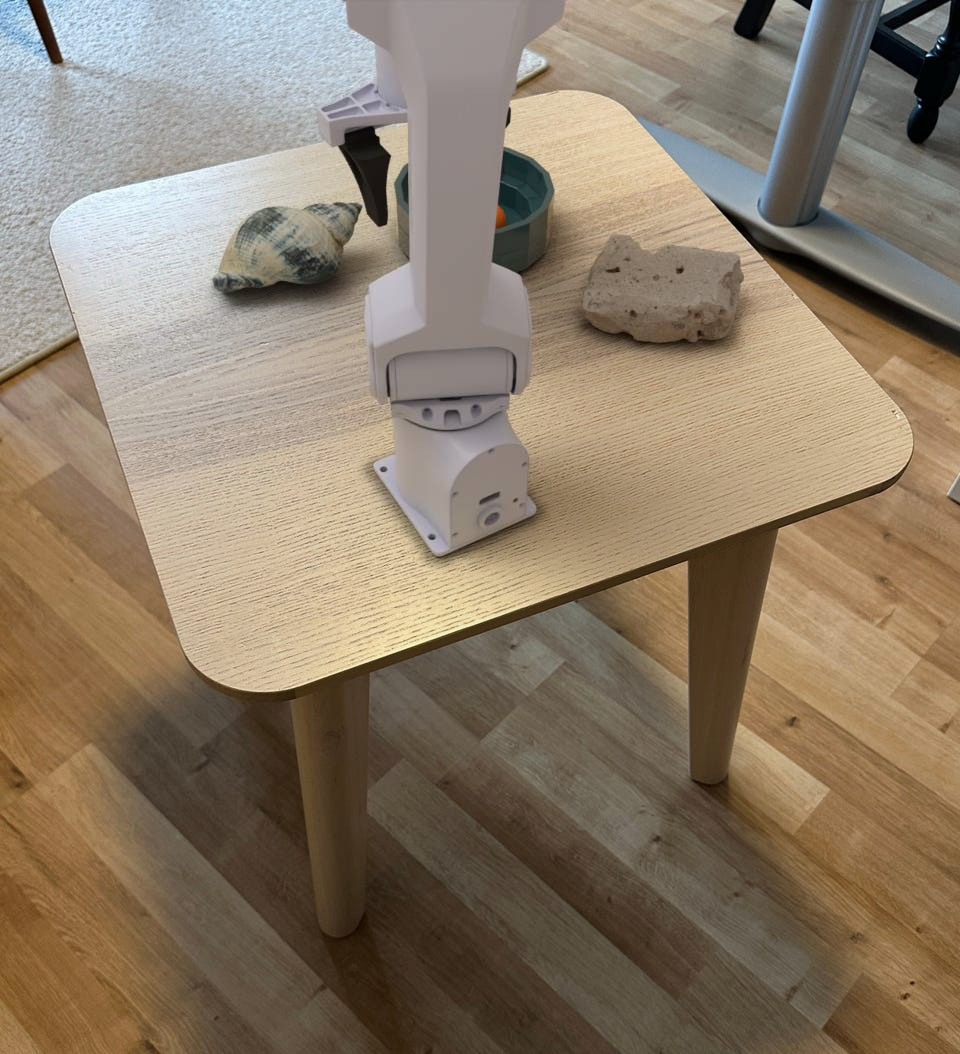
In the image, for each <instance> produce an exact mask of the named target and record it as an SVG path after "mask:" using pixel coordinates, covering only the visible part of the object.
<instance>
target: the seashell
mask: <svg viewBox="0 0 960 1054" xmlns="http://www.w3.org/2000/svg"><path fill="white" fill-rule="evenodd" d="M362 209H363V205H362V204H361V203H360V202H357V201H356V202H348V203H346V202H341V201H335V202H333V203H321V202H318V203H314V204H313V203H312V204H309V205H307V206H305V207H303V208H302V209H300V208H296V207H290V206H280V205H275V206H273V205H272V206H267V207H264V208H260V209H257V210H255V211H253V212H251V213H249V214H248V215H247V216H245V218H244V219H243V220H242V221H241V222H240V223H239V224H238V225H237V227H236V228H235V230H234V232H233V234H232V235H231V237H230V239H229V240H228V243H227V245H226V247H225V248H224V249H225V250H224V253H223V255H222V258H221V261H220V263H219V267H218V273H217V274H216V275H215V276H213V277H212V279H211V281H212V283H213V287H214V288H215V289H216V290H218V291H219V292H221V293H228V294H229V293H232V292H234V291H238V290H242V289H244V288H264V287H268V286H269V287H270V286H272V285H274V284H276V283H279V282H289V283H293V284H297V285H298V284H299V285H318V284H321V283H323V282H326V281H328V280H330V279H331V278H333V276H334V275H335V274H336V273H337V272H338V271H339V269H340V266H341V264H342V260H343V255H344V246H345V245H346V244H347V243H349V242H350V240H351V239H352V236H353V235H354V232H355V225H356V224H357V223H358V221H359V216H360V214H361V212H362Z"/></svg>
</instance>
